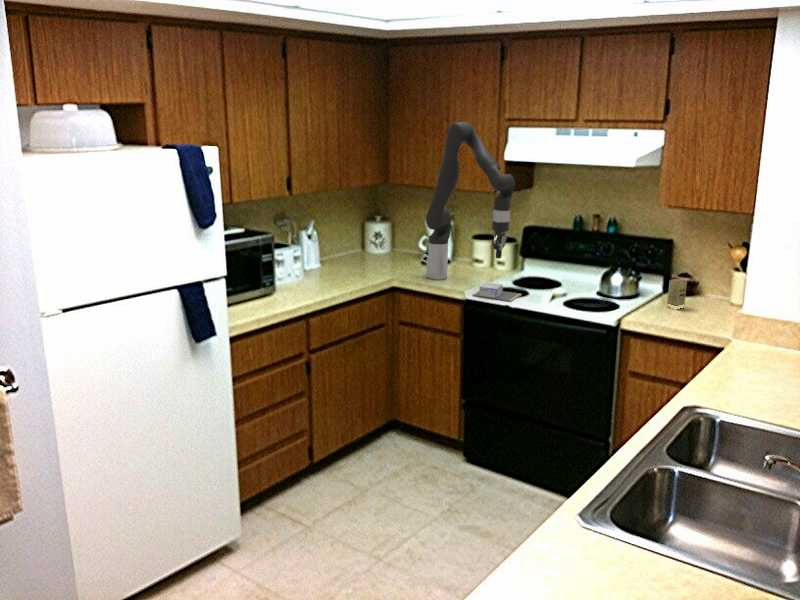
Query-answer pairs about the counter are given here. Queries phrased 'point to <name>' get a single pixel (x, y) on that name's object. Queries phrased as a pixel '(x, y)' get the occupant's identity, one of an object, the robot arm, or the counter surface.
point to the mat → (502, 296)
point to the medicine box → (490, 290)
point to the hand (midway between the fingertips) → (498, 258)
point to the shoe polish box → (677, 292)
